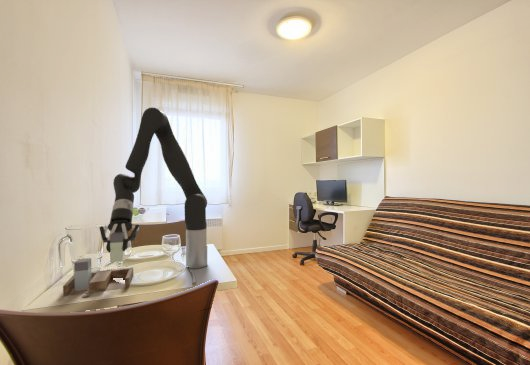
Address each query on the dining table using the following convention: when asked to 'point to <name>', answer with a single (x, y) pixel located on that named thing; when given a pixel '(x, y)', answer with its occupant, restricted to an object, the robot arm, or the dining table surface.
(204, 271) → the dining table surface
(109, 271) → the comb rack
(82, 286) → the block
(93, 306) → the dining table surface
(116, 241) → the grey upright block
